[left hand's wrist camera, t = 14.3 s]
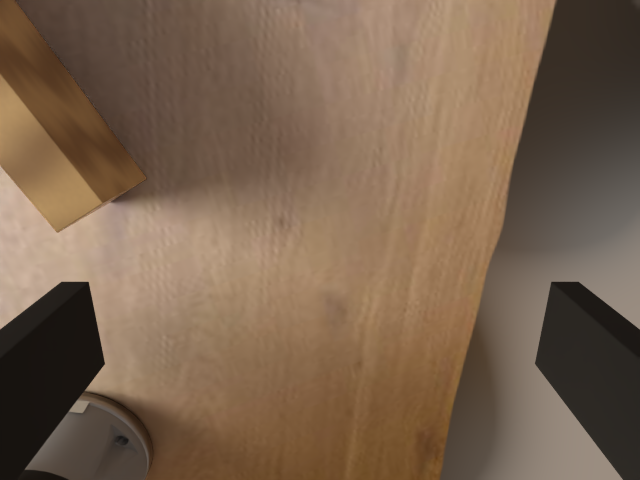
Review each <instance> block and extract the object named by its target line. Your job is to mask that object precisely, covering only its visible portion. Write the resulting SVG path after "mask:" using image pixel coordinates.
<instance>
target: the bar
mask: <svg viewBox="0 0 640 480" xmlns="http://www.w3.org/2000/svg"><path fill="white" fill-rule="evenodd" d="M0 166H1V167H2V168H3V170H4V171H5V172H6V173H7V174H8V175H9V177H10V178H11V179H12V180H13V181H14V183H15V184H16V185H17V186H18V187H19V188H20V190H21V191H22V192H23V193H24V194H25V196H26V197H27V198H28V199H29V200H30V201H31V203H32V204H33V205H34V206H35V207H36V208H37V210H38V211H39V212H40V213H41V214H42V216H43V217H44V218H45V219H46V220H47V221H48V223H49V224H50V225H51V226H52V227H53V229H54V230H55V231H56V232H60V231H61V230H63V229H65V228H67V227H68V226H70V225H72V224H74V223H75V222H77V221H79V220H80V219H82V218H84V217H86V216H87V215H89V214H91V213H93V212H94V211H96V210H98V209H99V208H101V207H103V206H105V205H106V204H108V203H110V202H111V201H113V200H114V199H116V198H118V197H119V196H121V195H122V194H124V193H125V192H127V191H128V190H130V189H132V188H133V187H135V186H136V185H138V184H139V183H141V182H143V181H144V180H146V179H147V178H146V177H145V175H144V174H143V173H142V171H141V170H140V169H139V167H138V166H137V165H136V163H135V162H134V161H133V159H132V158H131V157H130V155H129V154H128V152H127V151H126V150H125V148H124V147H123V146H122V144H121V143H120V142H119V140H118V139H117V138H116V136H115V135H114V134H113V132H112V131H111V130H110V128H109V127H108V125H107V124H106V123H105V121H104V120H103V119H102V117H101V116H100V115H99V113H98V112H97V111H96V109H95V108H94V107H93V105H92V104H91V102H90V101H89V100H88V98H87V97H86V96H85V94H84V93H83V92H82V90H81V89H80V88H79V86H78V85H77V84H76V82H75V81H74V80H73V78H72V77H71V75H70V74H69V73H68V71H67V70H66V69H65V67H64V66H63V65H62V63H61V62H60V61H59V59H58V58H57V57H56V55H55V54H54V52H53V51H52V50H51V48H50V47H49V46H48V44H47V43H46V42H45V40H44V39H43V38H42V36H41V35H40V34H39V32H38V31H37V30H36V28H35V27H34V25H33V24H32V23H31V21H30V20H29V19H28V17H27V16H26V15H25V13H24V12H23V11H22V9H21V8H20V7H19V5H18V4H17V2H16V1H15V0H0Z"/></svg>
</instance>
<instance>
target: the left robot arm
mask: <svg viewBox="0 0 640 480" xmlns="http://www.w3.org/2000/svg"><path fill="white" fill-rule="evenodd" d="M104 364H105V362H104V357H103V352H102V347H101V342H100V337H99V332H98V327H97V322H96V317H95V312H94V307H93V302H92V297H91V292H90V287H89V282H61V283H59V284H58V285H57V286H56V287H54V288H53V289H52V290H50V291H49V292H48V293H47V294H45V295H44V296H43V297H41V298H40V299H39V300H38V301H36V302H35V303H34V304H32V305H31V306H30V307H29V308H27V309H26V310H25V311H23V312H22V313H21V314H20V315H18V316H17V317H16V318H15V319H13V320H12V321H11V322H9V323H8V324H7V325H6V326H4V327H3V328H2V329H0V480H145V478H146V475H147V473H148V471H149V468H150V466H151V463H152V458H153V448H152V443H151V439H150V437H149V434H148V433H147V431H146V429H145V427H144V426H143V424H142V423H141V422H140V421H139V420H138V419H137V418H136V417H135V416H134V415H133V414H132V413H131V412H130V411H129V410H127V409H126V408H124V407H123V406H121V405H120V404H118V403H116V402H114V401H112V400H110V399H107V398H105V397H102V396H99V395H95V394H91V393H85V392H84V391H85V389H86V388H87V387H88V385H89V384H90V383H91V381H92V380H93V379H94V378H95V376H96V375H97V374H98V372H99V371H100V370H101V368H102V367H103V366H104ZM535 364H536V366H537V367H538V368H539V370H540V371H541V372H542V374H543V375H544V376H545V377H546V379H547V380H548V381H549V383H550V384H551V385H552V387H553V388H554V389H555V391H556V392H557V393H558V395H559V396H560V397H561V399H562V400H563V401H564V403H565V404H566V405H567V406H568V408H569V409H570V410H571V412H572V413H573V414H574V416H575V417H576V418H577V420H578V421H579V422H580V424H581V425H582V426H583V428H584V429H585V430H586V432H587V433H588V434H589V435H590V437H591V438H592V439H593V441H594V442H595V443H596V445H597V446H598V447H599V449H600V450H601V451H602V453H603V454H604V455H605V457H606V458H607V459H608V460H609V462H610V463H611V464H612V466H613V467H614V468H615V470H616V471H617V472H618V474H619V475H620V476H621V478H622V479H623V480H640V329H638V328H637V327H636V326H634V325H633V324H632V323H631V322H629V321H628V320H627V319H625V318H624V317H623V316H622V315H620V314H619V313H618V312H616V311H615V310H614V309H613V308H611V307H610V306H609V305H607V304H606V303H605V302H604V301H602V300H601V299H600V298H598V297H597V296H596V295H595V294H593V293H592V292H591V291H589V290H588V289H587V288H586V287H584V286H583V285H582V284H581V283H579V282H551V287H550V292H549V297H548V302H547V307H546V312H545V317H544V322H543V327H542V332H541V337H540V342H539V347H538V352H537V357H536V362H535Z"/></svg>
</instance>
